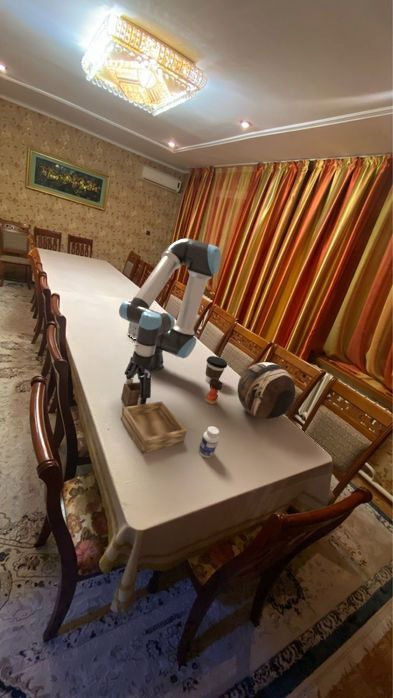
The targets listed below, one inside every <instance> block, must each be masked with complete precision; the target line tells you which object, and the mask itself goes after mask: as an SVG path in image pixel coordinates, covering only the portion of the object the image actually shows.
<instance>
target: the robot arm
mask: <svg viewBox="0 0 393 698" xmlns="http://www.w3.org/2000/svg"><path fill="white" fill-rule="evenodd" d="M160 256H161V259H160V260H159V262H158V263H157V265H156V266H155V268H154V269H153V270H152V271H151V273H150V275H149V276H148V278H146V280H145V281H144V282H143V284H142V286H141V287H140V289H139V290H138V292H137V293H135V296H134V297H133V299H132V300H131V301H130V300H124V301H123V302H122V303H121V304H120V305H119V309H118V314H119V317H121V319H123V320H125V321H127V322H128V323H130V322H133V323H135V324H138V325H139V328H138V333H137V338H136V340H135V344H134V348H133V352H132V353H133V354H132V356H131V357H130V360H129V363H128V365H127V367H126V369H125V370H124V375H125V378H126V380H125V383H134V378H135V376H136V375H137V379H138V380H139V381H138V382H140V392H141V395H140V396H139V399H138V404H137V405H142V404H145V402H146V403H147V400H146V398H147V399H150V398H151V396H152V395H151V394H152V393H151V392H152V390H151V389H152V376H153V373H152V372H151V371H158V370H161V369H162V368H163V365H164V354H163V351H164V352H166V353H168V354H171V355H173V356H175V357H178V358H180V359H186V358H188V357H189V356H190V355H191V353H192V352H193V350H194V348H195V347H196V344H197V338H196V337H195V330H194V327H195V326H194V325H195V323H196V320H197V317H198V313H199V310H200V307H201V303H202V300H203V296H204V293H205V290H206V287H207V283H208V281H209V280H211V279H212V278H213V275H217V273H219V270H220V266H221V262H222V252H221V249H220V248H219V247H218V246H216V245H214V244H211V243H207V242H203V241H200V240H196V239H193V238H189V237H186V238H180V239H178V240H176V241H174V242H172V243H171V244H170V245H168V246H167V247H166V248H165V249H164V251H163V252H162V253H161V255H160ZM181 266H187V272H188V274H189V276H188V280H187V284H186V287H185V290H184V293H183V297H182V301H181V303H180V308H179V310H178V311H179V312H178V315H177V319H176V323H175V318H174V316H173V315H172V314H171V313H169V312H162V313H161V312H158V311H155V310H153V309H150V308H151V307H152V305H153V303H155V301H156V298H157V297H158V296H159V294H160V293H161V291H162V290H163V288H164V287H165V285H166V284H167V283H168V282H169V279H170V278H171V276H172V275H173V273H174V272H175V270H178V269H180V267H181ZM149 371H150V372H149Z"/></svg>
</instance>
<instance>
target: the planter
mask: <svg viewBox="0 0 393 698" xmlns="http://www.w3.org/2000/svg"><path fill="white" fill-rule="evenodd" d="M138 328H139V325H138V324H135V323H133V322H128V328H127V329H128V330H127V335H128V334H129V335H130V336H131V337H133V338H137V333H138Z"/></svg>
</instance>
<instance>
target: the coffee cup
mask: <svg viewBox="0 0 393 698" xmlns="http://www.w3.org/2000/svg"><path fill="white" fill-rule="evenodd" d="M227 367H228V364H227V361H226V360H225V359H224V358H222V357H220V356H214V355H211V356H208V357H207V358H206V368H205V377H204V379H205V381H206V382H208V384H210V380H211V379H212V378H213V377H216V378H218V379H219V380H220V379H221V376H222V375H223V373H224V371H225V369H226V368H227Z"/></svg>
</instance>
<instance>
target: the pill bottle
mask: <svg viewBox="0 0 393 698" xmlns="http://www.w3.org/2000/svg"><path fill="white" fill-rule="evenodd" d="M219 433H220V430H219V428H217V427H215V426H213V425H212V426H211V425H210V426H207V430H206V431H204V433H203V436H202V437H201V440H200V444H199V447H198V453H199V455H201V456H202V457H204V458H212V457H213V456H214V453H215V451H216V448H217V445H218V442H219V440H220V438H219Z"/></svg>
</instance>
